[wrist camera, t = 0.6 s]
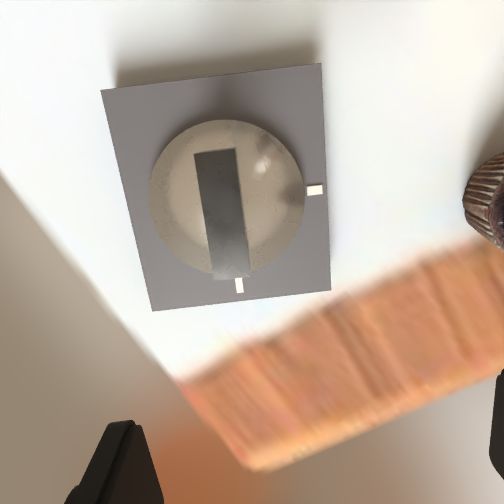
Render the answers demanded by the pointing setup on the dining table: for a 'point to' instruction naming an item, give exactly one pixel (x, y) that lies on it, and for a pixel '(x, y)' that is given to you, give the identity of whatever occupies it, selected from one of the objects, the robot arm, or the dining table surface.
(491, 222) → the cupcake
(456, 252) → the dining table surface
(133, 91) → the control panel
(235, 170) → the dial
